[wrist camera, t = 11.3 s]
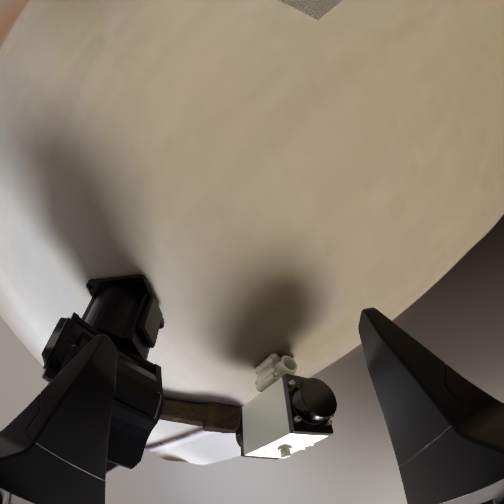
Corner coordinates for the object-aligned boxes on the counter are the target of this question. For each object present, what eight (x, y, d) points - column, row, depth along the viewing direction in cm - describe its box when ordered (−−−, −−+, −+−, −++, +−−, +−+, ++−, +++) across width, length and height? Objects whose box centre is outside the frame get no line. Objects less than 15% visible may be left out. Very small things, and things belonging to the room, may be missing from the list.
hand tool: (123, 394, 35) (117, 419, 31) (120, 382, 33) (113, 409, 29) (241, 413, 39) (241, 438, 35) (247, 403, 37) (248, 430, 33)
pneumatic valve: (233, 381, 33) (234, 467, 22) (287, 328, 28) (307, 436, 17) (269, 390, 34) (277, 470, 24) (326, 342, 29) (353, 437, 19)
